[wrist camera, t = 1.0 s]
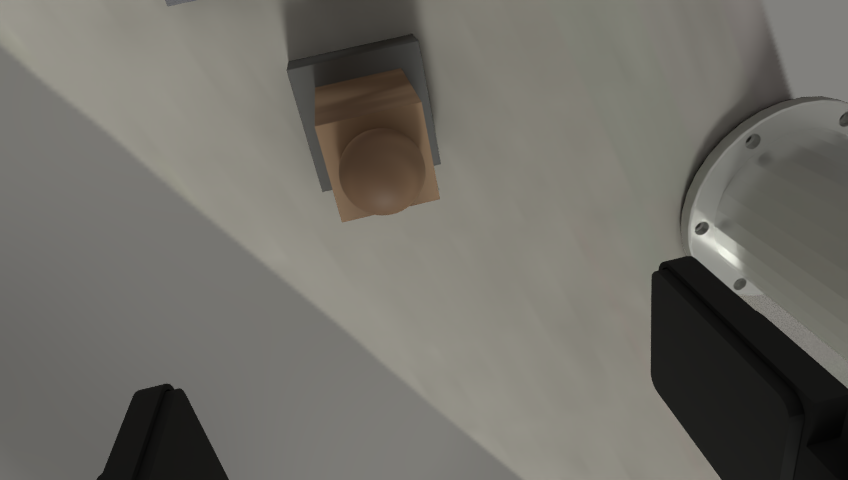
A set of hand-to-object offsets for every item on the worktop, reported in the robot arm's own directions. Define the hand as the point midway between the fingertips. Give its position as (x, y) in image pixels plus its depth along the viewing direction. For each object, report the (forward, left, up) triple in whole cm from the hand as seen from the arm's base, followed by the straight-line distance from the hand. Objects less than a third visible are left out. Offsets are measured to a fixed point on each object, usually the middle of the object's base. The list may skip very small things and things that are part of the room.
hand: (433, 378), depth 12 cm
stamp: (0, 0, -20) cm, 21 cm away
